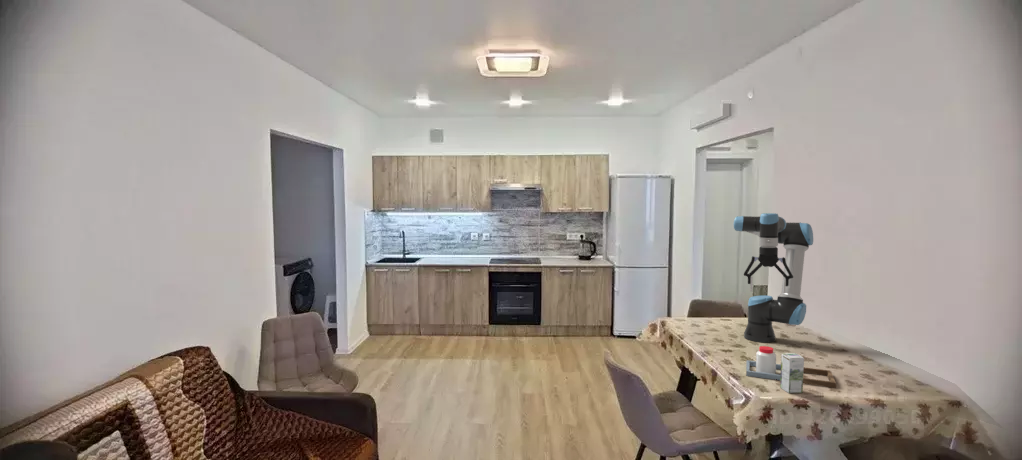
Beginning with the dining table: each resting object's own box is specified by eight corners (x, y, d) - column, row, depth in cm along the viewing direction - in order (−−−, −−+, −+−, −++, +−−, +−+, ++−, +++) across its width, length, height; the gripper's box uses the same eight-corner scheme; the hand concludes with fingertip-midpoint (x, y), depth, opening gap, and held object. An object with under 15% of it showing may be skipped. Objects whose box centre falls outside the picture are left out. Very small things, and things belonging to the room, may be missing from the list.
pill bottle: (765, 376, 207) (765, 351, 206) (751, 370, 214) (752, 346, 213) (780, 374, 209) (780, 349, 208) (766, 368, 216) (766, 344, 215)
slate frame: (746, 364, 222) (746, 360, 221) (784, 369, 215) (784, 364, 215) (746, 375, 208) (746, 371, 208) (787, 381, 201) (787, 376, 201)
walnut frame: (788, 369, 214) (789, 365, 214) (830, 375, 207) (830, 370, 207) (791, 381, 200) (791, 377, 200) (835, 387, 193) (836, 383, 193)
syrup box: (793, 387, 194) (794, 352, 193) (803, 393, 189) (804, 357, 188) (780, 387, 194) (780, 352, 193) (788, 393, 188) (789, 357, 187)
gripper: (738, 246, 225) (737, 291, 226) (800, 248, 214) (799, 295, 215) (738, 245, 231) (738, 288, 233) (799, 246, 220) (797, 292, 222)
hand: (767, 292), depth 224 cm, fingers open, 13 cm apart
